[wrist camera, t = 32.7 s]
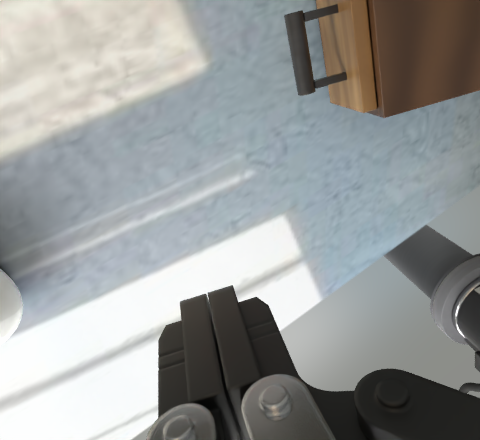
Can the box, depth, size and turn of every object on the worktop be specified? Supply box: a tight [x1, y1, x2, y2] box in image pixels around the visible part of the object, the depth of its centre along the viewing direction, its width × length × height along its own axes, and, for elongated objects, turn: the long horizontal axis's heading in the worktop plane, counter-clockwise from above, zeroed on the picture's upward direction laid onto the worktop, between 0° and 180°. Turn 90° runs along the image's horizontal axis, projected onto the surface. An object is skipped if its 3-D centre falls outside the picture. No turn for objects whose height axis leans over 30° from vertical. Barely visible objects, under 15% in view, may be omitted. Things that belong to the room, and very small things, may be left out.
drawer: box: [284, 0, 377, 113], centre depth 34 cm, size 18×10×7 cm, turn 104°
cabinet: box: [366, 0, 480, 118], centre depth 34 cm, size 15×12×9 cm
